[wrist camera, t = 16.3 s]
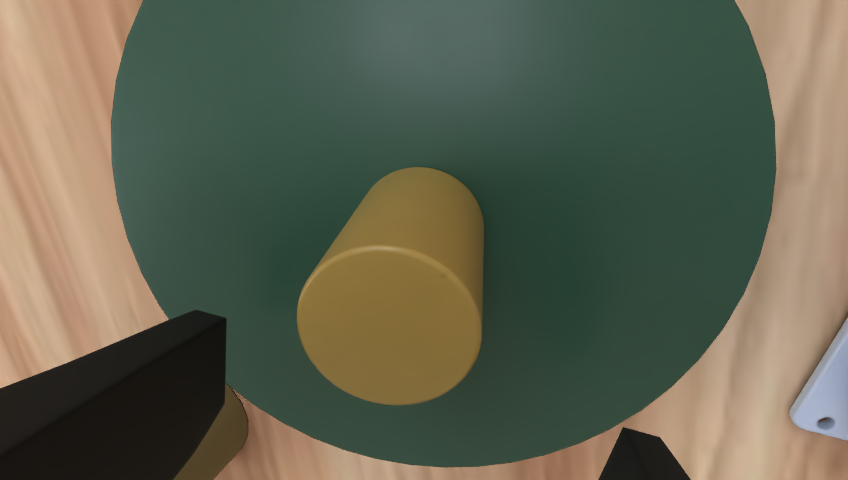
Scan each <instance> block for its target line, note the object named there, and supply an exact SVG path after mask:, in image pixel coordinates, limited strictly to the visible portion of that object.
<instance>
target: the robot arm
mask: <svg viewBox="0 0 848 480" xmlns="http://www.w3.org/2000/svg"><path fill="white" fill-rule="evenodd" d="M226 328H227V318H225V317H222V316H218V315H214V314H211V313H207V312H203V311H200V310H193V311H191V312H188V313H185V314H183V315H180V316H178V317H175V318H173V319H170V320H168V321H165V322H163V323H161V324H158V325H156V326H154V327H151V328H149V329H147V330H144V331H142V332H140V333H137V334H135V335H133V336H130V337H128V338H126V339H123V340H121V341H118V342H116V343H114V344H111V345H109V346H107V347H104V348H102V349H99V350H97V351H95V352H92V353H90V354H87V355H85V356H83V357H80V358H78V359H76V360H73V361H71V362H68V363H66V364H63V365H61V366H58V367H55V368H53V369H50V370H48V371H45V372H42V373H40V374H37V375H34V376H32V377H29V378H27V379H24V380H21V381H19V382H16V383H13V384H11V385H8V386H6V387H3V388H0V480H173V479H174V478H175V477H176V476H177V474H178V473H179V472H180V470H181V469H182V468H183V467H184V465H185V464H186V463H187V461H188V460H189V459H190V458H191V456H192V455H193V454H194V452H195V451H196V449H197V448H198V446H199V445H200V443H201V441H202V440H203V438H204V437H205V435H206V434H207V432H208V430H209V429H210V427H211V426H212V424H213V422H214V421H215V419H216V417H217V416H218V414H219V412H220V411H221V409H222V407H223V406H224V404H225V375H226ZM789 414H790V418H791V419H792V421H793V422H794V424H795V425H796V426H797V427H799V428H801V429H803V430H807V431H811V432H815V433H819V434H823V435H827V436H831V437H834V438H838V439H842V440H846V441H848V318H847V319H846V321H845V322H844V324H843V326H842V327H841V329H840V330H839V332H838V334H837V335H836V337H835V338H834V340H833V342H832V343H831V345H830V346H829V348H828V350H827V351H826V353H825V354H824V356H823V358H822V359H821V361H820V362H819V364H818V366H817V367H816V369H815V370H814V372H813V374H812V375H811V377H810V378H809V380H808V382H807V383H806V385H805V386H804V388H803V390H802V391H801V393H800V394H799V396H798V398H797V399H796V401H795V402H794V404H793V406H792V407H791V409H790V412H789ZM825 417H828V418H827V419H826V420H823V421H819V420H820V419H822V418H825ZM599 480H690V478H689V477H688V475H687V474H686V473H685V471H684V470H683V468H682V467H681V465H680V464H679V463H678V461H677V460H676V458H675V457H674V456H673V454H672V453H671V452H670V450H669V449H668V448H667V446H666V445H665V444H664V442H663V441H662V440H661V438H660V437H657V436H653V435H650V434H646V433H642V432H639V431H635V430H631V429H628V428H624V427H623V428H622V431H621V433H620V435H619V437H618V439H617V441H616V443H615V446H614V448H613V450H612V452H611V454H610V456H609V458H608V461H607V463H606V465H605V467H604V469H603V471H602V473H601V476H600V478H599Z"/></svg>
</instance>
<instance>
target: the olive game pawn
mask: <svg viewBox="0 0 848 480" xmlns="http://www.w3.org/2000/svg"><path fill="white" fill-rule="evenodd" d="M247 436H248V420H247V417H246V414H245V412H244V409H243V406H242V404H241V402H240V401H239V399H238V398H237V397H236V395H235V394H234V392H233V391H232V390H231V388H230V387H229V386H228V385H227V384H225V404H224V406H223V407H222V409H221V411H220V412H219V414H218V416H217V417H216V419H215V421H214V422H213V424H212V426H211V427H210V429H209V430H208V432H207V434H206V435H205V437H204V438H203V440H202V441H201V443H200V445H199V446H198V448H197V449H196V451H195V452H194V454H193V455H192V456H191V458H190V459H189V460H188V461H187V463H186V464H185V465H184V467H183V468H182V469H181V470H180V472H179V473H178V474H177V476H176V477H175V478H174V479H173V480H214V478H215V477H216V476H217V475H218V474H219V473H220V472H221V471H222V470H223V468H224V467H225V466H226V465H227V464H228V463H229V462H230V461H231V460H232V458H233V457H234V456H235V455H236V454H237V453H238V452H239V451H240V450H241V448H242V447H243V445H244V442H245V440H246V438H247Z"/></svg>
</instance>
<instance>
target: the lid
mask: <svg viewBox="0 0 848 480" xmlns="http://www.w3.org/2000/svg"><path fill="white" fill-rule="evenodd" d="M111 146H112V167H113V174H114V181H115V188H116V195H117V202H118V205H119V209H120V212H121V216H122V220H123V223H124V227H125V231H126V234H127V238H128V241H129V243H130V245H131V248H132V250H133V253H134V255H135V258H136V260H137V263H138V265H139V268H140V270H141V273H142V274H143V276H144V278H145V280H146V282H147V284H148V286H149V287H150V289H151V291H152V293H153V295H154V297H155V298H156V300H157V302H158V304H159V306H160V307H161V308H162V310H163V311H164V313H165V314H166V316H167V317H168V318H169V320H170V319H173V318H175V317H178V316H180V315H183V314H185V313H188V312H191V311H193V310H200V311H203V312H207V313H211V314H214V315H218V316H222V317H225V318H227V328H226V375H225V383H227V384H228V385H229V386H230V387H232V388H233V389H234V390H235V391H237V392H238V393H239V394H241V395H242V396H243V397H245V398H246V399H247V400H248V401H250V402H251V403H252V404H254V405H255V406H257V407H258V408H260V409H261V410H263V411H265V412H266V413H268V414H269V415H271V416H273V417H274V418H276V419H278V420H279V421H281V422H282V423H284V424H286V425H288V426H290V427H292V428H294V429H296V430H298V431H300V432H302V433H304V434H306V435H308V436H310V437H312V438H315V439H317V440H320V441H322V442H325V443H328V444H330V445H333V446H335V447H338V448H341V449H343V450H346V451H350V452H354V453H357V454H361V455H365V456H368V457H372V458H375V459H380V460H386V461H392V462H397V463H403V464H409V465H420V466H433V467H479V466H487V465H495V464H504V463H512V462H516V461H521V460H525V459H529V458H534V457H538V456H543V455H547V454H550V453H552V452H555V451H558V450H561V449H564V448H567V447H570V446H573V445H576V444H579V443H581V442H583V441H585V440H588V439H590V438H592V437H594V436H596V435H598V434H601V433H603V432H605V431H607V430H609V429H611V428H613V427H615V426H616V425H618V424H619V423H621V422H623V421H624V420H626V419H628V418H629V417H631V416H633V415H634V414H636V413H638V412H639V411H641V410H642V409H644V408H645V407H646V406H648V405H649V404H650V403H651V402H653V401H654V400H655V399H657V398H658V397H659V396H660V395H662V394H663V393H664V392H666V391H667V390H668V389H669V388H671V387H672V386H673V385H674V384H675V383H676V382H677V381H678V380H679V379H680V378H681V377H682V376H683V375H684V374H685V373H686V372H687V371H688V370H689V369H690V368H691V367H692V366H693V365H694V364H695V363H696V362H697V361H698V360H699V359H700V358H701V356H702V355H703V354H704V353H705V351H706V350H707V349H708V348H709V346H710V345H711V344H712V342H713V341H714V340H715V339H716V337H717V336H718V335H719V333H720V332H721V331H722V330H723V328H724V326H725V325H726V323H727V321H728V320H729V318H730V316H731V315H732V313H733V311H734V310H735V308H736V306H737V305H738V303H739V301H740V299H741V298H742V296H743V294H744V292H745V290H746V287H747V285H748V283H749V280H750V278H751V276H752V273H753V271H754V269H755V266H756V264H757V261H758V259H759V257H760V254H761V250H762V246H763V242H764V239H765V235H766V231H767V227H768V223H769V220H770V216H771V210H772V202H773V193H774V184H775V176H776V146H775V121H774V116H773V111H772V105H771V100H770V95H769V89H768V84H767V79H766V74H765V71H764V68H763V65H762V62H761V60H760V57H759V54H758V51H757V48H756V46H755V43H754V40H753V37H752V34H751V32H750V29H749V26H748V24H747V22H746V20H745V19H744V17H743V15H742V13H741V11H740V9H739V8H738V6H737V4H736V2H735V0H143V2H142V4H141V7H140V9H139V11H138V14H137V16H136V18H135V21H134V23H133V26H132V28H131V30H130V33H129V35H128V37H127V40H126V44H125V48H124V52H123V56H122V59H121V63H120V67H119V71H118V75H117V79H116V84H115V93H114V102H113V110H112V119H111Z"/></svg>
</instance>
